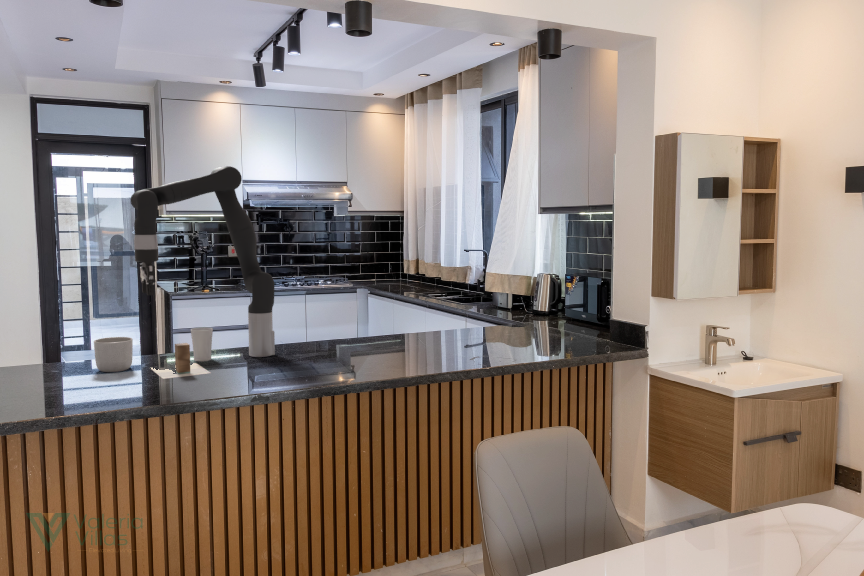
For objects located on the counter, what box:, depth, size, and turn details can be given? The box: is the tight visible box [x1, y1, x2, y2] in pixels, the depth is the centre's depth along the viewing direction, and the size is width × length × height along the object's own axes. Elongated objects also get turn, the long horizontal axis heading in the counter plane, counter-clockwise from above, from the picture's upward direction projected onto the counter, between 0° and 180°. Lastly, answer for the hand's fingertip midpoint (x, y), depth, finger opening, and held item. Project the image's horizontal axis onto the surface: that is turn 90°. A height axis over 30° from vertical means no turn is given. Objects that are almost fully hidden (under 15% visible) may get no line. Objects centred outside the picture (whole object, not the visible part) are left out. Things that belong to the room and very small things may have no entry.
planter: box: [93, 336, 134, 373], centre depth 236 cm, size 12×12×11 cm
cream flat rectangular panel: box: [150, 362, 211, 380], centre depth 236 cm, size 16×20×1 cm
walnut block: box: [174, 342, 191, 374], centre depth 232 cm, size 4×4×10 cm
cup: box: [190, 326, 214, 362], centre depth 254 cm, size 8×8×12 cm
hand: (148, 294), depth 234 cm, fingers open, 8 cm apart
